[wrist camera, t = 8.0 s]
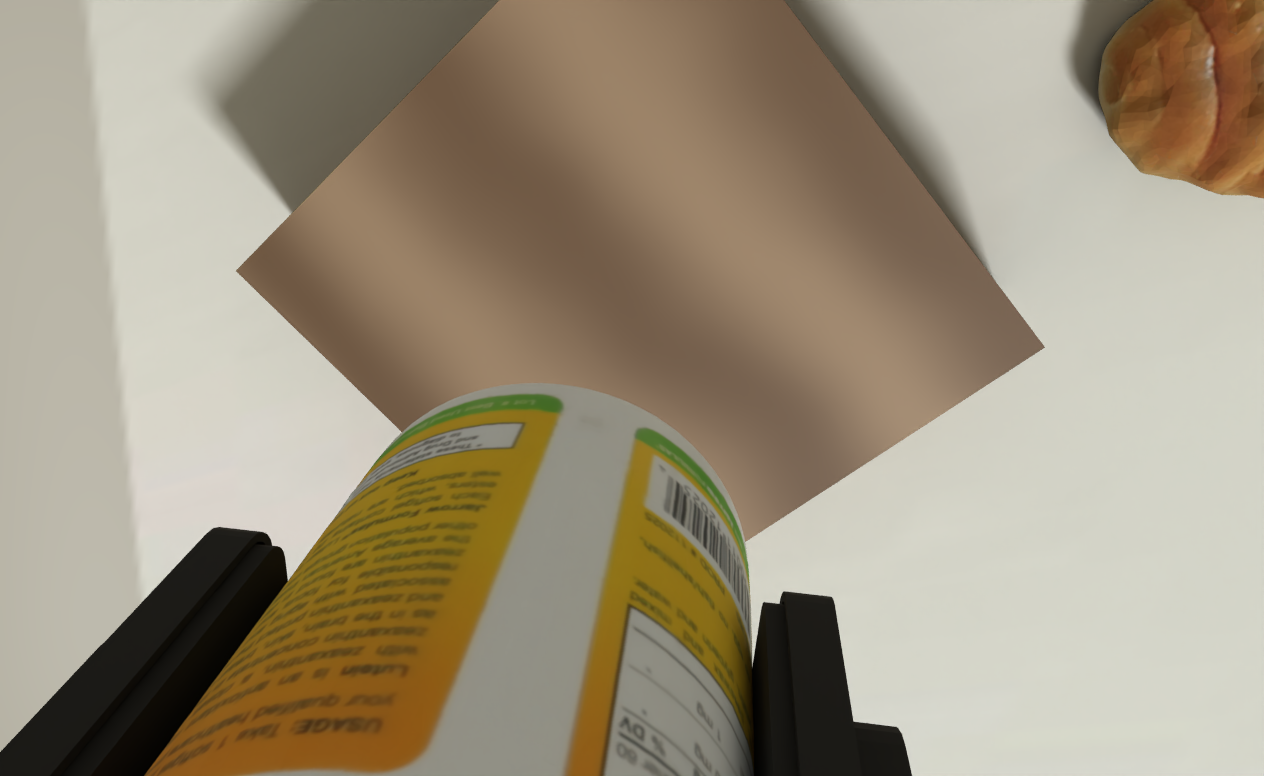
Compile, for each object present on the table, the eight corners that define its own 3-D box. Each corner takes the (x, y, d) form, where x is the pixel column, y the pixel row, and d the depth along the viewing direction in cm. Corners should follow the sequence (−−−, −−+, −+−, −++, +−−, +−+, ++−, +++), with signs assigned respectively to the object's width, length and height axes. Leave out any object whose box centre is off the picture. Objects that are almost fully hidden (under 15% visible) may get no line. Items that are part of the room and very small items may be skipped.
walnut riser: (622, 551, 30) (607, 631, 26) (304, 230, 26) (235, 270, 23) (999, 293, 25) (1045, 347, 21) (671, -141, 22) (659, -165, 18)
